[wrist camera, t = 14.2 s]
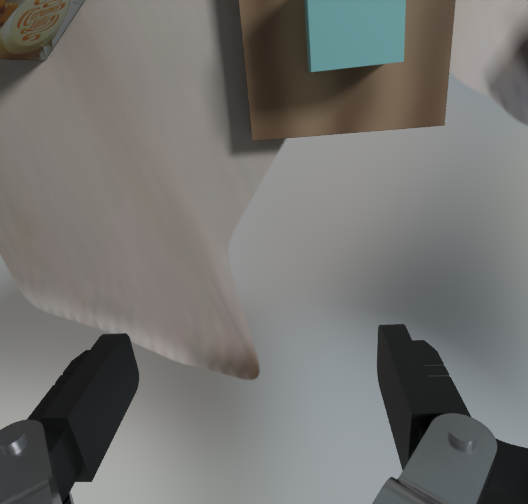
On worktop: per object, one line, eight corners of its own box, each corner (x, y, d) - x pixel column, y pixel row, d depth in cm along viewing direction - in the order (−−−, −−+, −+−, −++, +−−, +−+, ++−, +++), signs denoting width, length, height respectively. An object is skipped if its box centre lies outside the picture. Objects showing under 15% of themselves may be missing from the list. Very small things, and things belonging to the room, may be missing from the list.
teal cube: (308, 72, 32) (311, 72, 27) (303, -16, 30) (305, -36, 24) (384, 63, 32) (403, 61, 26) (385, -27, 29) (407, -50, 24)
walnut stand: (255, 135, 38) (252, 140, 35) (235, -77, 31) (229, -92, 28) (432, 121, 36) (444, 125, 33) (450, -106, 30) (466, -124, 27)
